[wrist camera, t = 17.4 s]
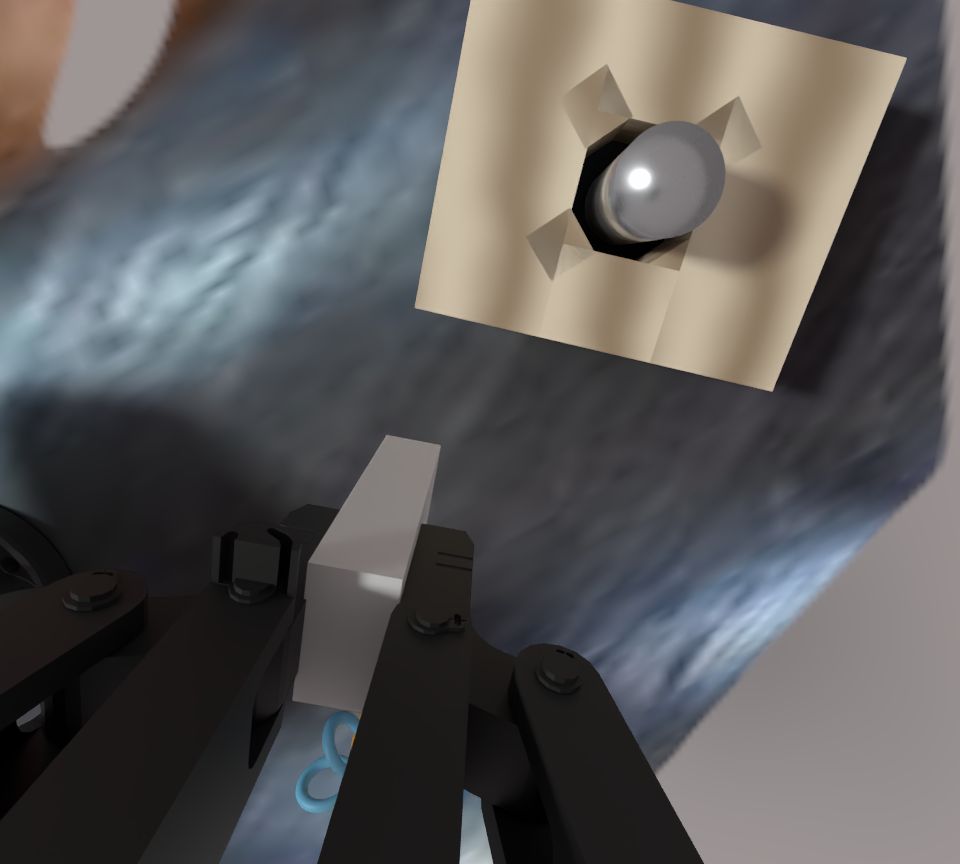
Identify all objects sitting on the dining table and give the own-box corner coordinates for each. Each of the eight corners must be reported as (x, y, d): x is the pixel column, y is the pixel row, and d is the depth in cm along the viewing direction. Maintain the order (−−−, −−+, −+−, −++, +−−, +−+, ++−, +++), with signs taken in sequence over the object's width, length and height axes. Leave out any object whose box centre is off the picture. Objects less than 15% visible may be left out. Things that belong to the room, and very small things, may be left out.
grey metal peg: (576, 236, 32) (603, 225, 23) (596, 156, 31) (634, 109, 22) (647, 252, 32) (704, 248, 23) (670, 173, 31) (741, 134, 22)
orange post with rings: (471, 652, 42) (450, 855, 28) (481, 756, 45) (466, 987, 31) (317, 655, 43) (220, 853, 28) (337, 757, 46) (258, 982, 32)
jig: (428, 301, 34) (414, 307, 29) (484, 4, 29) (479, -47, 24) (735, 373, 34) (772, 391, 30) (842, 91, 29) (907, 57, 25)
